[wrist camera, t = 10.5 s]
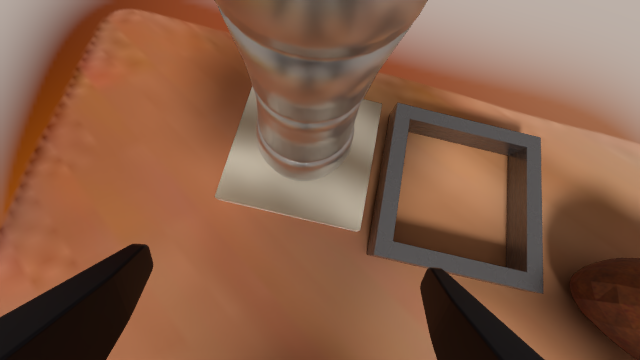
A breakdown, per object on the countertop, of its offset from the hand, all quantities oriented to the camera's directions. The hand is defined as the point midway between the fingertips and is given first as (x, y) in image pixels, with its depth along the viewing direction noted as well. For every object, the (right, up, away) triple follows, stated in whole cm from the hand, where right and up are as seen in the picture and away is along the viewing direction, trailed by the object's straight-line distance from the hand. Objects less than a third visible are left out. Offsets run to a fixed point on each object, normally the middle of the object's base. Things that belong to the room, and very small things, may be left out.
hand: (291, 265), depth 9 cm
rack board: (0, +5, +14) cm, 15 cm away
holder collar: (+12, +1, +14) cm, 18 cm away
